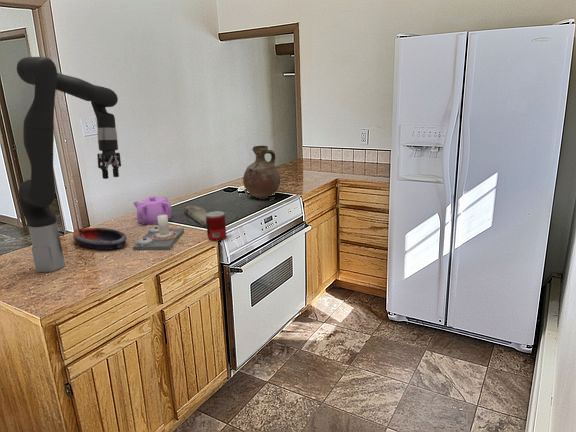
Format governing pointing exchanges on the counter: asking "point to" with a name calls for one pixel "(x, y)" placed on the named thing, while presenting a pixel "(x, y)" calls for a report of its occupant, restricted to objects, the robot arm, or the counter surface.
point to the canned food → (216, 225)
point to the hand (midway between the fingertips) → (111, 177)
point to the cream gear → (163, 228)
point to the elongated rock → (197, 214)
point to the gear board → (157, 240)
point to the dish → (100, 238)
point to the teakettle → (152, 209)
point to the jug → (262, 174)
